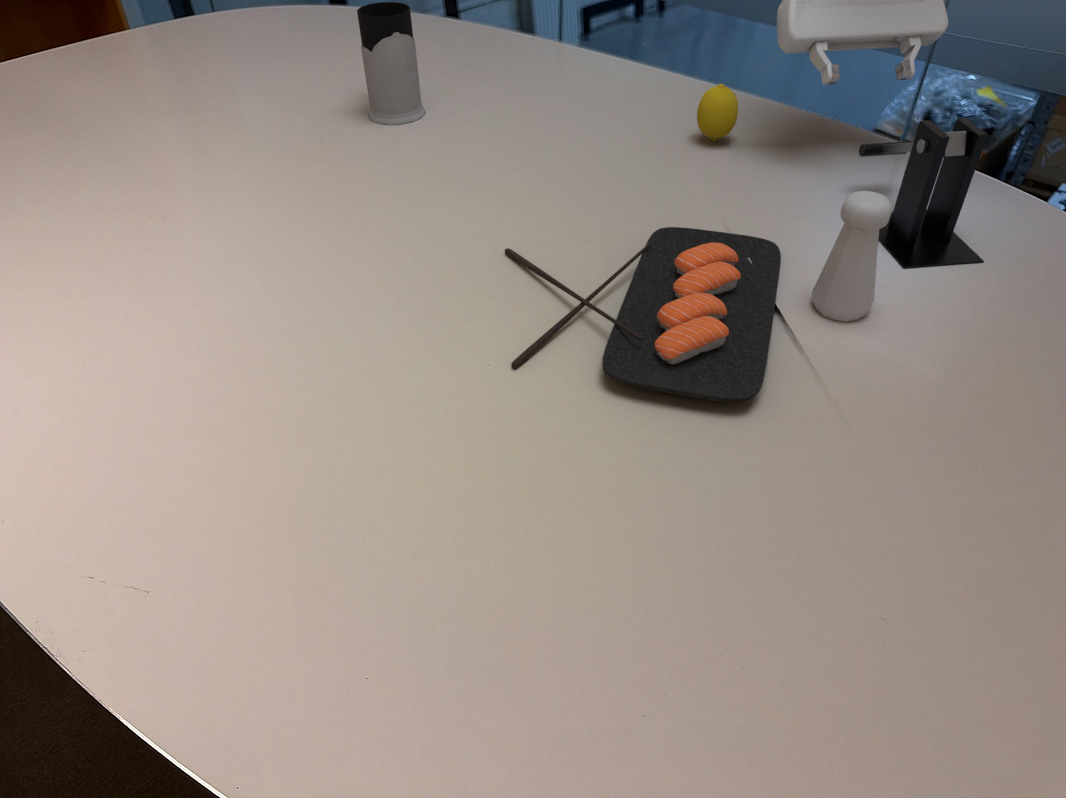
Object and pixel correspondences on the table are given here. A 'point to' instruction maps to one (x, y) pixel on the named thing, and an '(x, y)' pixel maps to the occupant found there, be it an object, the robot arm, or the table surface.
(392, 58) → the glass holder
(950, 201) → the bracket
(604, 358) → the sushi plate
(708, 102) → the lemon
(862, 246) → the salt shaker
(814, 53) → the robot arm
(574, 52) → the table surface
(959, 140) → the lever
